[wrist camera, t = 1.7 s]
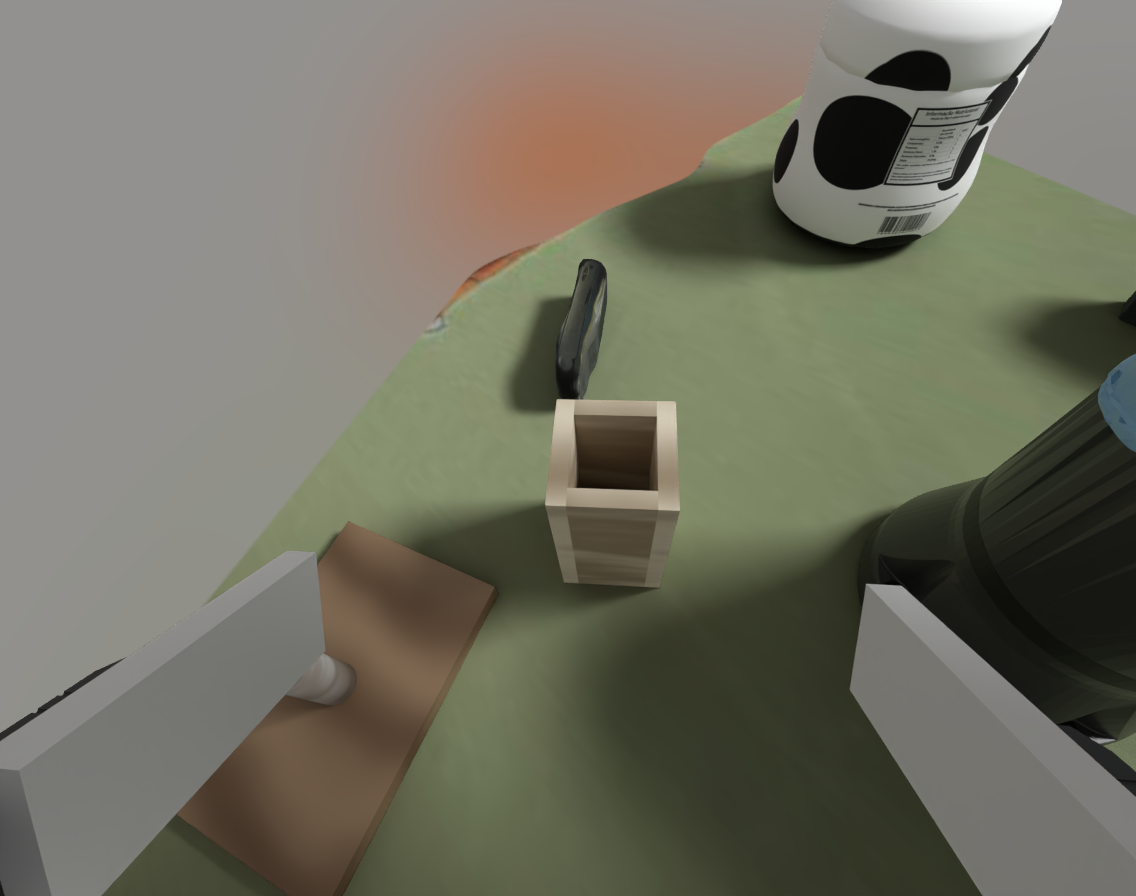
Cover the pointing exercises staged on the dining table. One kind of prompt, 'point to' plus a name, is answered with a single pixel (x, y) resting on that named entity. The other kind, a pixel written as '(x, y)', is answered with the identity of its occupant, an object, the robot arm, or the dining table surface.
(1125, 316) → the green statue
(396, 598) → the flat brown rectangular board
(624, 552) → the wooden pencil cup
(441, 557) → the dining table surface
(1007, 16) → the doce de leite jar
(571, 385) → the mobile phone
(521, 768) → the dining table surface
